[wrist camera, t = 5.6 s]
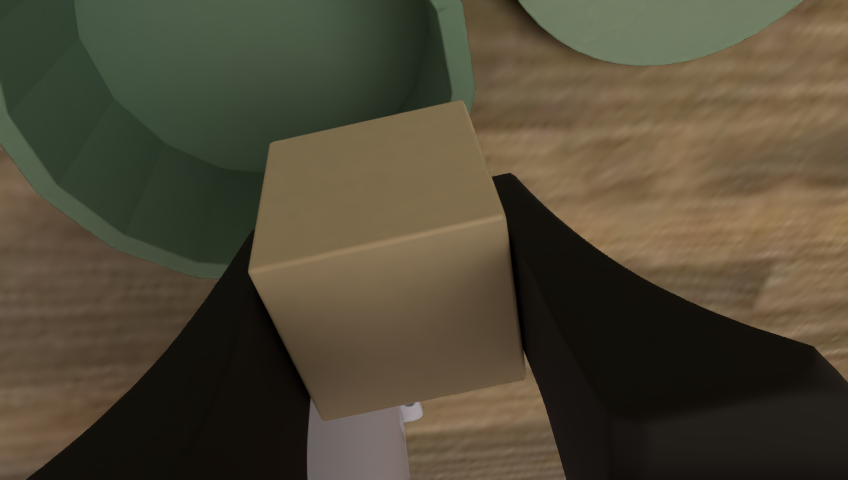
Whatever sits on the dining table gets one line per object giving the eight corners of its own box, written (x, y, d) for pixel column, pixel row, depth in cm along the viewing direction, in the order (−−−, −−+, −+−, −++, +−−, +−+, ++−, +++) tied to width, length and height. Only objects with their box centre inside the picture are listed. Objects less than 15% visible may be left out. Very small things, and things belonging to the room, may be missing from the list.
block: (487, 247, 15) (528, 380, 12) (325, 283, 15) (322, 423, 12) (463, 97, 12) (506, 215, 9) (268, 140, 12) (245, 271, 9)
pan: (467, 139, 22) (498, 232, 18) (167, 209, 22) (127, 317, 18) (397, -255, 15) (421, -258, 11) (-38, -142, 15) (-181, -101, 11)
